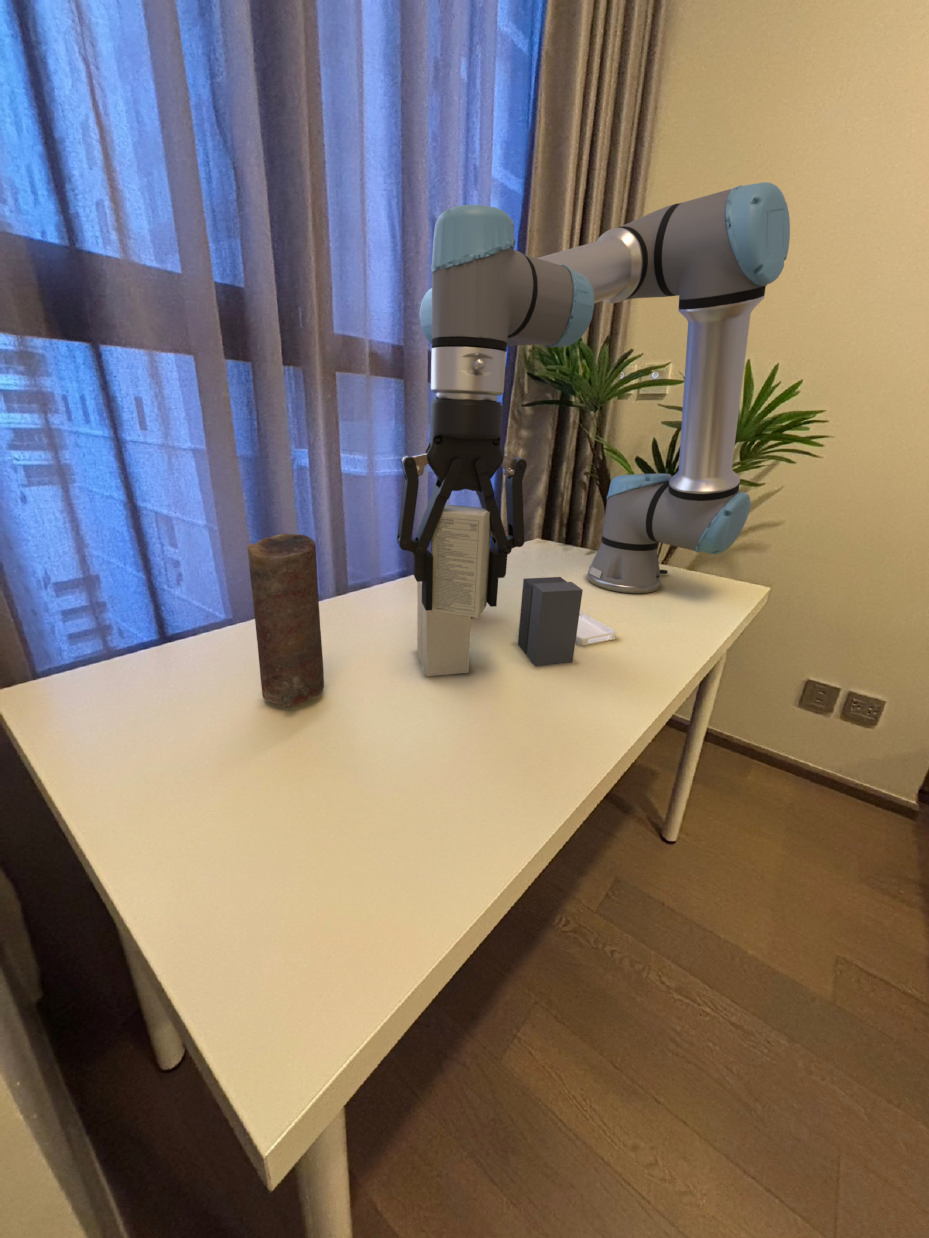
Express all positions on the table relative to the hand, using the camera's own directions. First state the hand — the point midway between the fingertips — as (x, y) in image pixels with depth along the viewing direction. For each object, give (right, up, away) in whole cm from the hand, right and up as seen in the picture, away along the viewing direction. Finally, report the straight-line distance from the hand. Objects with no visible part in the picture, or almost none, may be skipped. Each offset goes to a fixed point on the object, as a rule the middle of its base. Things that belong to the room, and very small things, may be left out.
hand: (458, 604), depth 61 cm
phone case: (+19, -3, +27) cm, 33 cm away
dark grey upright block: (+13, -7, +16) cm, 22 cm away
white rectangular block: (-3, -8, +12) cm, 15 cm away
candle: (-20, -12, +2) cm, 24 cm away
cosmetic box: (0, -1, 0) cm, 1 cm away
